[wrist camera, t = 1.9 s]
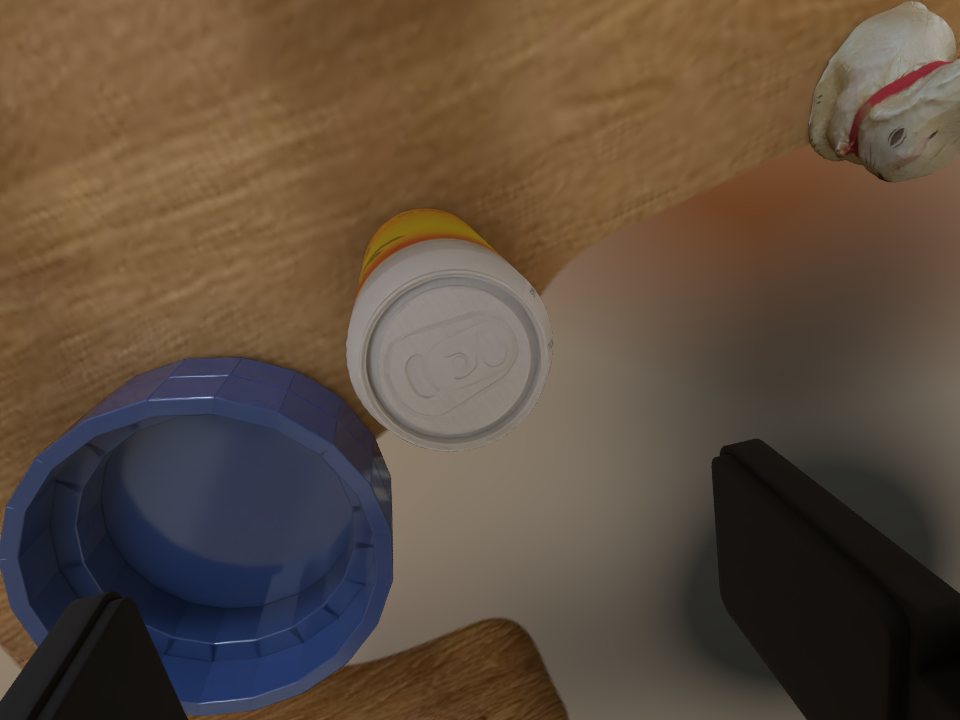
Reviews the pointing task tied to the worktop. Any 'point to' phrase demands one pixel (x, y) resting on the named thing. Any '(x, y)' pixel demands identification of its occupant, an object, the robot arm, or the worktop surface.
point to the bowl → (212, 527)
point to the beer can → (445, 335)
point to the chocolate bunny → (891, 96)
